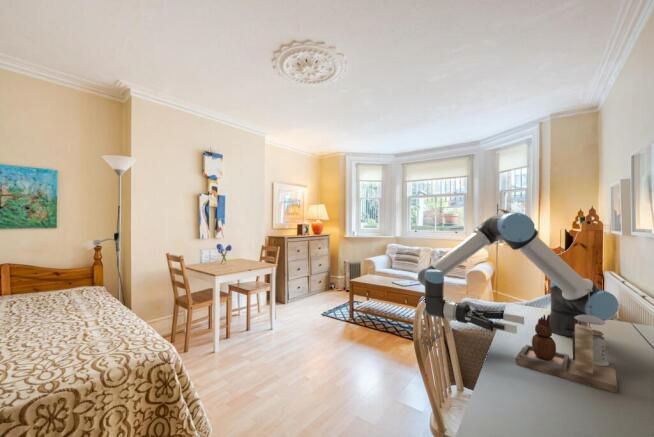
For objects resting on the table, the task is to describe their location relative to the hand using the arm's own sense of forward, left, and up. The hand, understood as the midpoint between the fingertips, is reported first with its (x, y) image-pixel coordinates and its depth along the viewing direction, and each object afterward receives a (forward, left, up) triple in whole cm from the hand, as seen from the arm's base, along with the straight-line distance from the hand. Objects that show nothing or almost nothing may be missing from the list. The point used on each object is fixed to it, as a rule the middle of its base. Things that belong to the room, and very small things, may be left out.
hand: (520, 324), depth 101 cm
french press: (-25, +5, -12) cm, 28 cm away
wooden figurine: (-4, +5, -10) cm, 12 cm away
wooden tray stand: (-7, +10, -12) cm, 16 cm away
